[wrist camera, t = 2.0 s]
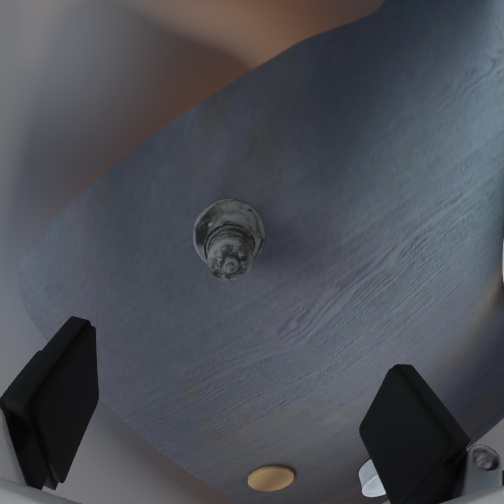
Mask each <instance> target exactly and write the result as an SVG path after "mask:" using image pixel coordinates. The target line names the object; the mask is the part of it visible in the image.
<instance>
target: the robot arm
mask: <svg viewBox="0 0 504 504" xmlns="http://www.w3.org/2000/svg"><path fill="white" fill-rule="evenodd" d="M98 399H99V389H98V374H97V354H96V329H95V327H94V326H91V323H90V321H89V320H86V319H82V318H78V317H74V316H71V317H70V318H69V319H68V320H67V322H66V323H65V324H64V325H63V326H62V327H61V328H60V330H59V331H58V332H57V333H56V334H55V335H54V337H53V338H52V339H51V340H50V341H49V342H48V344H47V345H46V346H45V347H44V349H43V350H41V351H38V352H37V353H36V354H35V355H34V356H33V358H32V359H31V360H30V361H29V363H28V364H27V365H26V366H25V367H24V369H23V370H22V371H21V372H20V373H19V375H18V376H17V377H16V378H15V380H14V381H13V382H12V383H11V385H10V386H9V387H8V389H7V390H6V391H5V393H4V394H3V395H2V397H1V398H0V504H81V503H77V502H74V501H71V500H68V499H65V498H62V497H59V496H56V495H53V494H50V493H47V492H44V491H42V488H43V486H46V487H48V488H50V489H53V490H56V487H57V485H58V482H60V483H64V481H65V479H66V477H67V474H68V472H69V469H70V467H71V464H72V462H73V459H74V457H75V454H76V452H77V450H78V447H79V445H80V442H81V440H82V438H83V435H84V433H85V431H86V428H87V426H88V424H89V421H90V419H91V417H92V415H93V412H94V410H95V408H96V406H97V403H98ZM359 432H360V436H361V438H362V440H363V442H364V445H365V447H366V449H367V451H368V453H369V456H370V458H371V460H372V462H373V465H374V467H375V469H376V471H377V474H378V476H379V478H380V480H381V483H382V485H383V487H384V489H385V492H386V494H387V496H388V499H389V501H390V503H391V504H504V471H503V470H502V461H501V458H500V456H499V455H498V453H497V452H496V451H495V450H493V449H492V448H490V447H488V446H486V445H482V444H477V445H474V446H472V447H471V448H470V449H469V450H468V451H467V450H466V449H465V448H466V446H467V445H468V444H469V442H470V441H471V440H470V439H469V437H468V436H467V435H466V433H465V432H464V431H463V429H462V428H461V427H460V425H459V424H458V423H457V421H456V420H455V419H454V417H453V416H452V415H451V414H450V412H449V411H448V410H447V408H446V407H445V406H444V405H443V403H442V402H441V401H440V400H439V398H438V397H437V396H436V394H435V393H434V392H433V391H432V389H431V388H430V387H429V386H428V384H427V383H426V382H425V381H424V379H423V378H422V377H421V376H420V374H419V373H418V372H417V371H416V370H415V368H414V367H413V366H412V365H406V364H396V365H394V366H393V368H391V369H390V370H389V371H388V372H387V374H386V377H385V379H384V381H383V383H382V385H381V387H380V389H379V391H378V393H377V395H376V397H375V399H374V400H373V402H372V404H371V406H370V408H369V410H368V412H367V414H366V415H365V417H364V419H363V421H362V423H361V425H360V428H359Z"/></svg>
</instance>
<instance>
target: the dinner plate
mask: <svg viewBox="0 0 504 504" xmlns="http://www.w3.org/2000/svg"><path fill="white" fill-rule="evenodd" d="M503 281H504V240H503Z"/></svg>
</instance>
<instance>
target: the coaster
mask: <svg viewBox="0 0 504 504" xmlns="http://www.w3.org/2000/svg"><path fill="white" fill-rule="evenodd" d="M293 479H294V473H293V471H292V470H291V469H289V468H287V467H285V466H278V465H273V466H266V467H262V468H259V469H257V470H255V471H253V472H252V473H251V474H250V475H249V476H248V484H249V486H250V487H251V488H253V489H255V490H259V491H275V490H279V489H282V488H284V487H286V486H288V485H289V484H291V482H292V481H293Z"/></svg>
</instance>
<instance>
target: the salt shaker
mask: <svg viewBox="0 0 504 504" xmlns="http://www.w3.org/2000/svg"><path fill="white" fill-rule="evenodd" d="M193 241H194V246H195V248H196V251H197V253H198V254H199V255H200V257H201V258H202V260H204V261H205V262H206V263H207V264H208V267H209V269H210V271H211V273H212V274H213V275H214V276H215V277H216V278H217V279H219V280H221V281H224V282H236V281H239V280H241V279H243V278H244V277H246V276H247V274H248V273H249V272H250V270H251V268H252V267H253V262H254V260H255V259H256V258H257V257H258V256H259V255H260V253H261V251H262V249H263V247H264V243H265V227H264V224H263V221H262V219H261V217H260V216H259V214H258V213H257V212H256V211H255V210H254V209H253V208H252V207H251V206H249V205H247V204H245V203H243V202H241V201H239V200H235V199H222V200H219V201H216V202H214V203H213V204H211V205H210V206H208V207H207V208H205V209H204V210H203V211H202V213H201V214H200V215H199V216H198V218H197V220H196V223H195V225H194V230H193Z"/></svg>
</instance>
